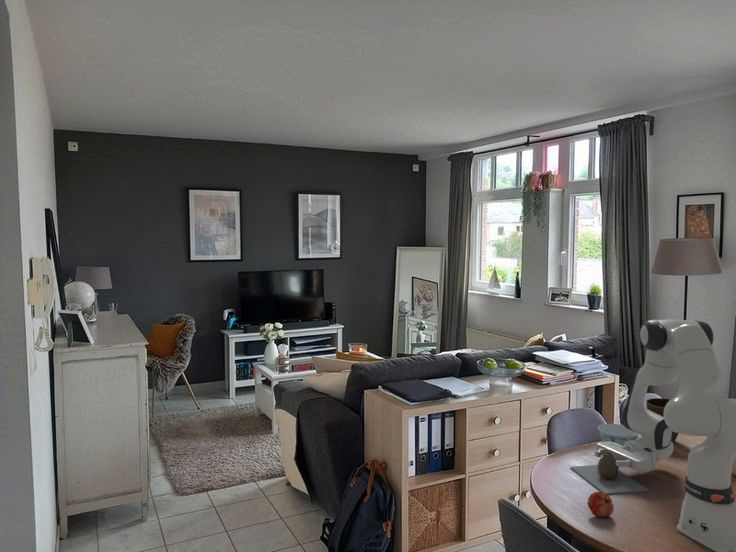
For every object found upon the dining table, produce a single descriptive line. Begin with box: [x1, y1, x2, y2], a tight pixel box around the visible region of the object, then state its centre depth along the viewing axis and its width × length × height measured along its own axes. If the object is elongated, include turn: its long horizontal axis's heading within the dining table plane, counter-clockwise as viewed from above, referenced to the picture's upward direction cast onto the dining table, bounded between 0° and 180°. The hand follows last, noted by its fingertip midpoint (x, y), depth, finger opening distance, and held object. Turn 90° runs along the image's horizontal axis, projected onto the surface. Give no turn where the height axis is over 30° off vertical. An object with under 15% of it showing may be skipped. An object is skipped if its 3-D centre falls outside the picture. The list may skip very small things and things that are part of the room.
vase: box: [597, 452, 620, 480], centre depth 206 cm, size 7×7×9 cm
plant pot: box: [645, 397, 680, 444], centre depth 244 cm, size 15×15×16 cm
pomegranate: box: [587, 491, 615, 518], centre depth 180 cm, size 7×7×10 cm
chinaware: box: [597, 423, 639, 446], centre depth 235 cm, size 15×15×8 cm
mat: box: [570, 464, 649, 496], centre depth 206 cm, size 22×16×1 cm
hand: (606, 459), depth 205 cm, fingers open, 8 cm apart
